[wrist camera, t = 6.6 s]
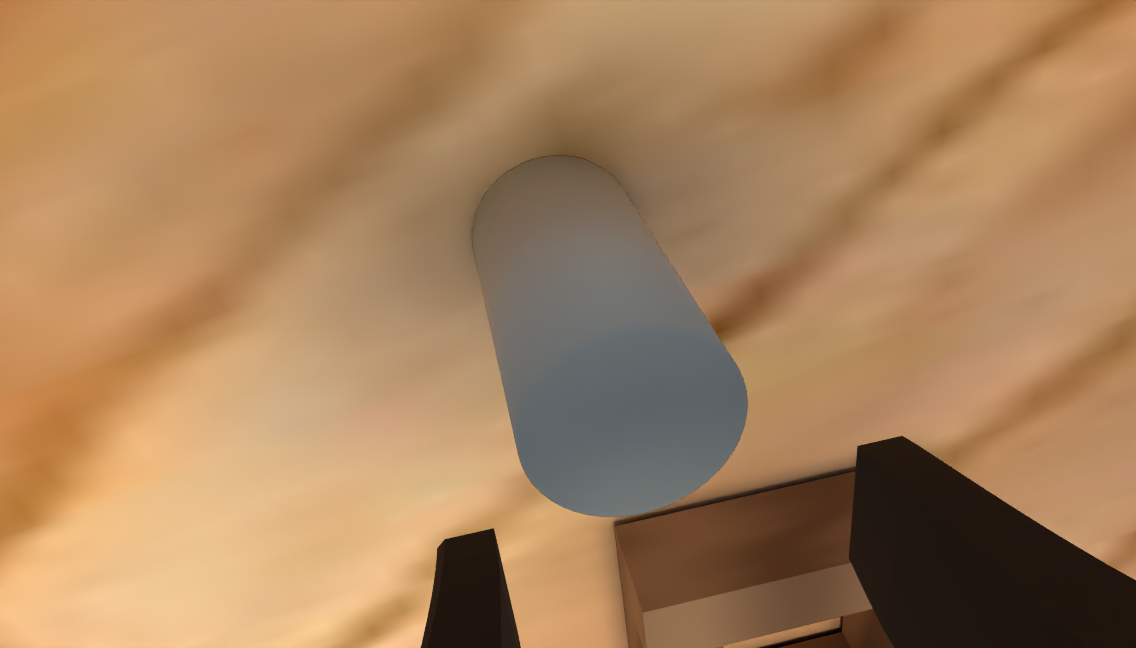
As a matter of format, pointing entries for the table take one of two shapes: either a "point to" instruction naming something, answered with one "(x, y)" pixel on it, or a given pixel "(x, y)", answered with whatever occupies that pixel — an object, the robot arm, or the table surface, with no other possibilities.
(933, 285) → the table surface
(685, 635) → the brown square frame
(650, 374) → the dowel
